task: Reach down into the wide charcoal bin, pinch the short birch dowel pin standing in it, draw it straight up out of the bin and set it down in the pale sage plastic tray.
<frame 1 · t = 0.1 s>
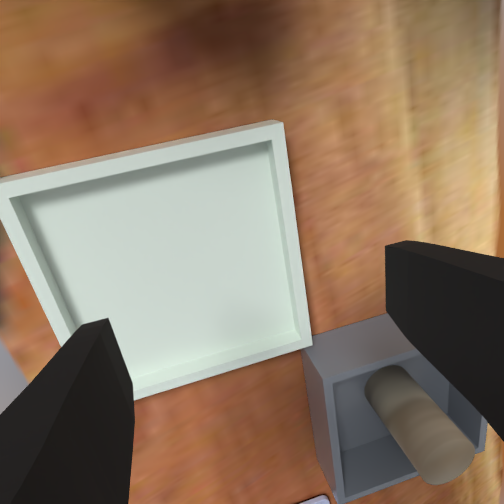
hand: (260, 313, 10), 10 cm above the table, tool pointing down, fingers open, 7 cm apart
charcoal bin: (382, 380, 27), on the table
birch pin: (386, 385, 26), resting on charcoal bin
sage tray: (177, 266, 20), on the table
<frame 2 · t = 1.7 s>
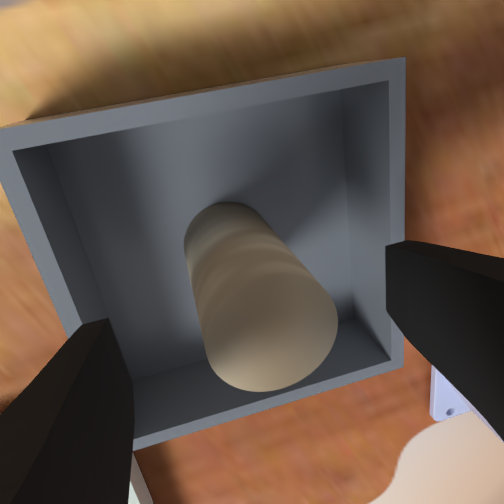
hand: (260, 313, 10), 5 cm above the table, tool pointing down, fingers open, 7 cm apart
charcoal bin: (225, 239, 15), on the table
birch pin: (227, 243, 15), resting on charcoal bin
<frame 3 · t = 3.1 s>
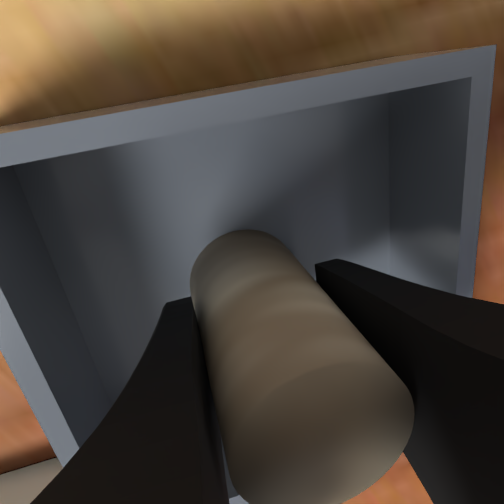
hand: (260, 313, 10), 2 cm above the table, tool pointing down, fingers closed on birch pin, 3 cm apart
charcoal bin: (240, 273, 12), on the table
birch pin: (243, 280, 12), resting on charcoal bin, touching gripper
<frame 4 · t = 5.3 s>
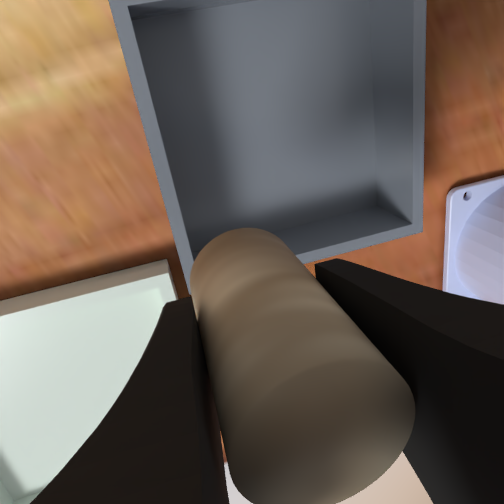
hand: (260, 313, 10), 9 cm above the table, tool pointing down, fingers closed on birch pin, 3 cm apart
charcoal bin: (270, 126, 18), on the table
birch pin: (243, 278, 12), point 8 cm above the table, touching gripper
sage tray: (82, 389, 21), on the table
when the fingers open (4 cm above the table, at t = 7.7 s): birch pin drops 2 cm, resting on sage tray.
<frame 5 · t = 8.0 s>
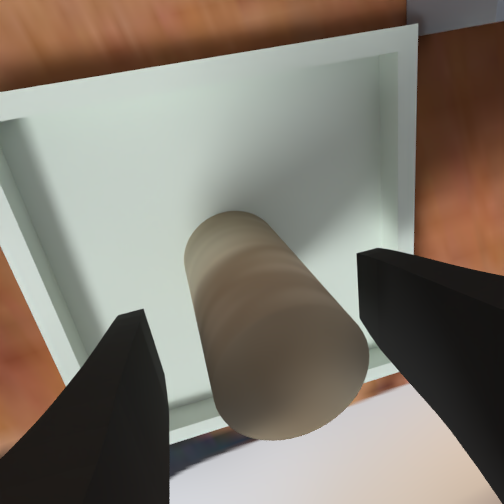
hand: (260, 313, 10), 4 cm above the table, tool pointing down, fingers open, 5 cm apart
birch pin: (232, 257, 13), point 1 cm above the table, touching sage tray
sage tray: (230, 253, 14), on the table
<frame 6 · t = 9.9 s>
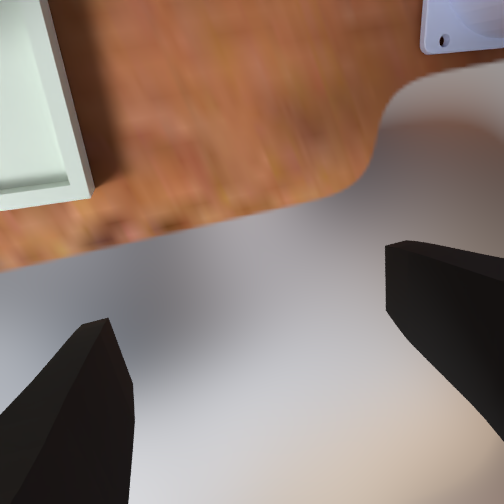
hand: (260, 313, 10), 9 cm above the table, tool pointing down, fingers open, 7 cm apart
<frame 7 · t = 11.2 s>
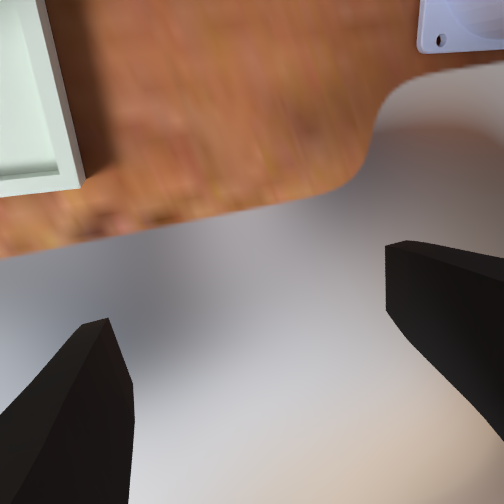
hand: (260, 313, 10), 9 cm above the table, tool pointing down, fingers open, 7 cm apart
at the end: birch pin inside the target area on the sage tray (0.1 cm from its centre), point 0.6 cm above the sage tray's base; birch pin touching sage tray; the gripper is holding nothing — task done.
